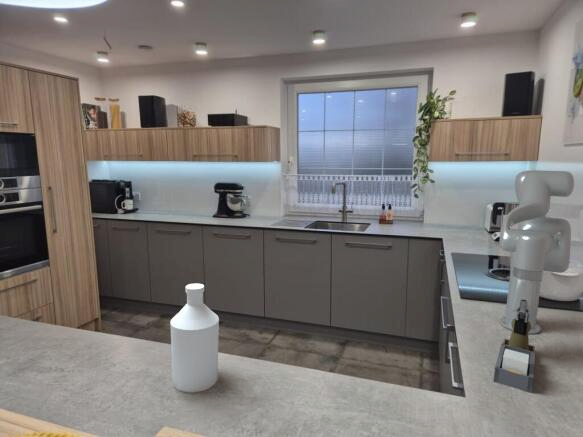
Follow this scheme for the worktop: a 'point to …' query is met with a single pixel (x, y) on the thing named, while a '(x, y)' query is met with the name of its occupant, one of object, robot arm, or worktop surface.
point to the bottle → (194, 344)
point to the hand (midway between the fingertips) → (520, 328)
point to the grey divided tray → (514, 377)
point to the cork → (519, 338)
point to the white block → (515, 361)
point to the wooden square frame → (531, 348)
